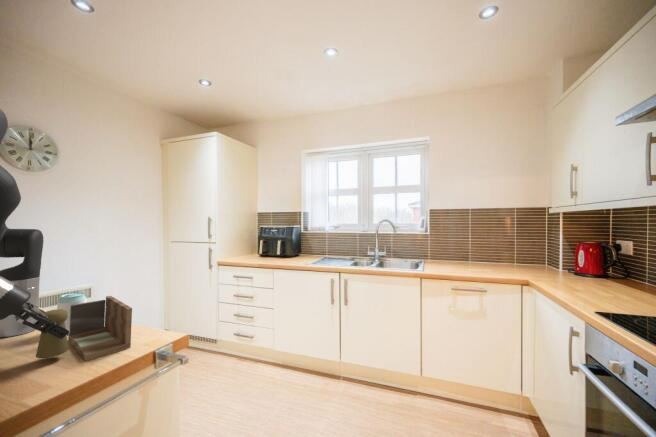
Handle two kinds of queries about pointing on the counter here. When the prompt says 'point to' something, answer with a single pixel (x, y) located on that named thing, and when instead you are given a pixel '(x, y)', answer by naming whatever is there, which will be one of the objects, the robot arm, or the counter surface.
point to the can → (70, 300)
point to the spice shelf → (100, 327)
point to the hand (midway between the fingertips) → (63, 332)
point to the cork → (49, 342)
